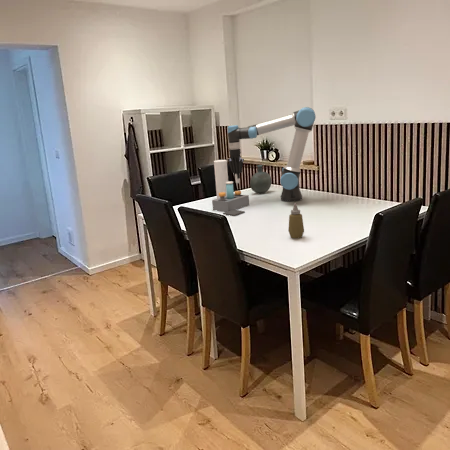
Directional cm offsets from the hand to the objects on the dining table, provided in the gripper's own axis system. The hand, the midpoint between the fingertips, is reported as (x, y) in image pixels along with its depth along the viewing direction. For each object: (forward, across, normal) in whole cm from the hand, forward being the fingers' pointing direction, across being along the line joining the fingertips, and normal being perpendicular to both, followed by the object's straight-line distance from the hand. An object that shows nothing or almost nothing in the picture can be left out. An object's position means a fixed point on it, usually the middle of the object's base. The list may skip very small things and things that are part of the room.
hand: (237, 182), depth 305 cm
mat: (+16, +12, -20) cm, 29 cm away
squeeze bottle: (+17, +76, -44) cm, 90 cm away
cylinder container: (+16, -23, +8) cm, 29 cm away
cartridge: (+16, -1, -8) cm, 18 cm away
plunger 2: (+15, -1, 0) cm, 15 cm away
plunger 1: (+13, -1, -16) cm, 21 cm away
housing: (+16, -1, -8) cm, 18 cm away
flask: (+16, -11, +39) cm, 43 cm away
